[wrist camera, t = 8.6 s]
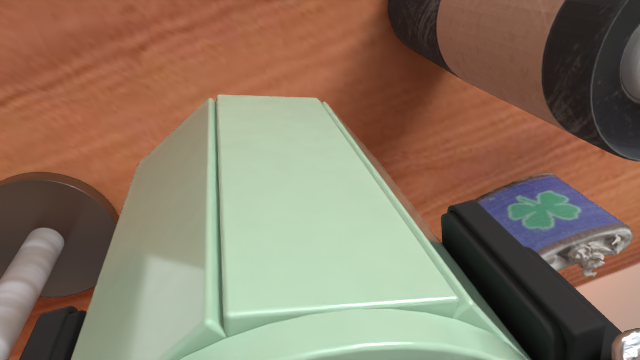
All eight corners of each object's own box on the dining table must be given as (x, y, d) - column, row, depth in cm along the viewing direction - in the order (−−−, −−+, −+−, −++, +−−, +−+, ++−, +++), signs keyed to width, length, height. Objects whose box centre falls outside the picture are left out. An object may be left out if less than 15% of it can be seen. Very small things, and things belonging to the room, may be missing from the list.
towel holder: (-58, 193, 32) (-227, 346, 19) (91, 156, 33) (19, 280, 20) (14, 302, 36) (-87, 481, 24) (142, 267, 37) (108, 423, 25)
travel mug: (448, 73, 36) (680, 194, 18) (364, 28, 33) (540, 119, 15) (505, -26, 33) (838, 2, 16) (419, -83, 30) (706, -128, 13)
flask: (465, 225, 42) (537, 304, 33) (461, 199, 41) (536, 273, 32) (558, 192, 43) (656, 260, 34) (557, 165, 42) (659, 228, 32)
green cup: (81, 215, 13) (-121, 632, 5) (270, 39, 12) (388, 219, 4) (257, 337, 16) (302, 706, 8) (418, 207, 15) (642, 489, 7)
